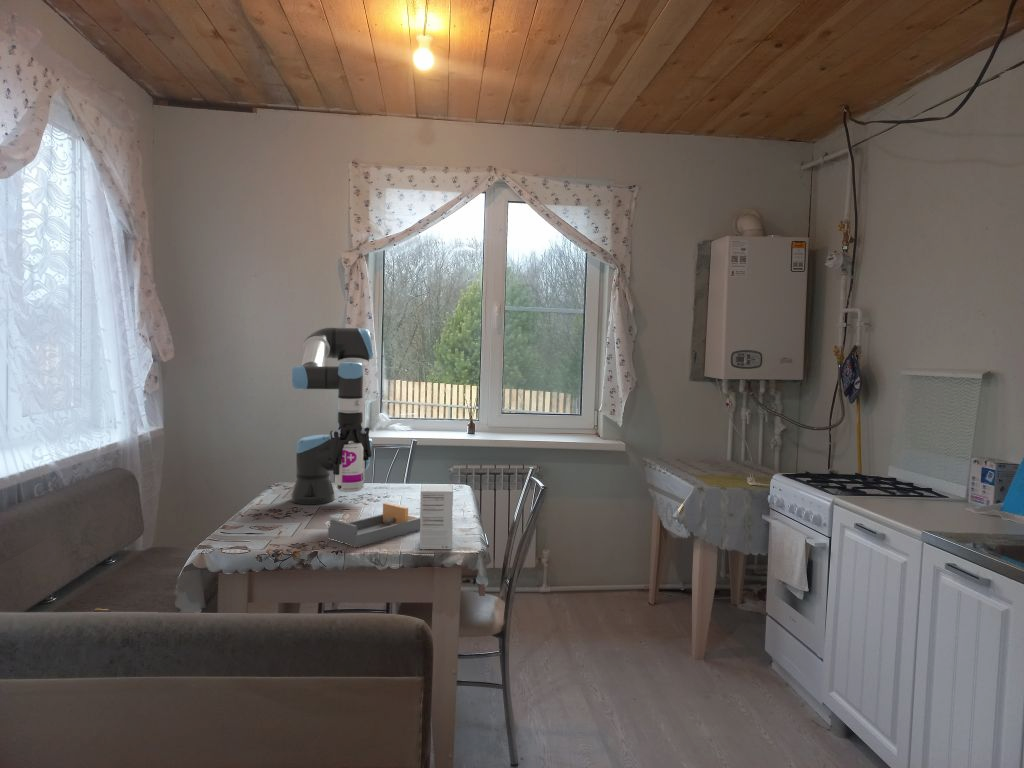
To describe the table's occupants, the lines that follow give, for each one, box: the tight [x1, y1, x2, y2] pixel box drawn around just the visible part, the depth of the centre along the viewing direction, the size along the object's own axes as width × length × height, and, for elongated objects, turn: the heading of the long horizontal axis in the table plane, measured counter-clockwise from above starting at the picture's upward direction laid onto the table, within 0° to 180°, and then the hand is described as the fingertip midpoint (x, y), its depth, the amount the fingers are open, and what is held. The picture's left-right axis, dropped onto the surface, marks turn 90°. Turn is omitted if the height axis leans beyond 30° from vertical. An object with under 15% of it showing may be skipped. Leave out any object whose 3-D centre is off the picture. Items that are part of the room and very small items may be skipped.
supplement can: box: [336, 441, 364, 493], centre depth 216 cm, size 8×8×15 cm
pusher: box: [382, 502, 409, 525], centre depth 210 cm, size 10×4×6 cm, turn 53°
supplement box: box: [419, 483, 454, 550], centre depth 196 cm, size 10×9×17 cm
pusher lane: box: [327, 513, 420, 548], centre depth 206 cm, size 12×26×6 cm, turn 143°
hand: (349, 482), depth 216 cm, fingers closed on supplement can, 8 cm apart
